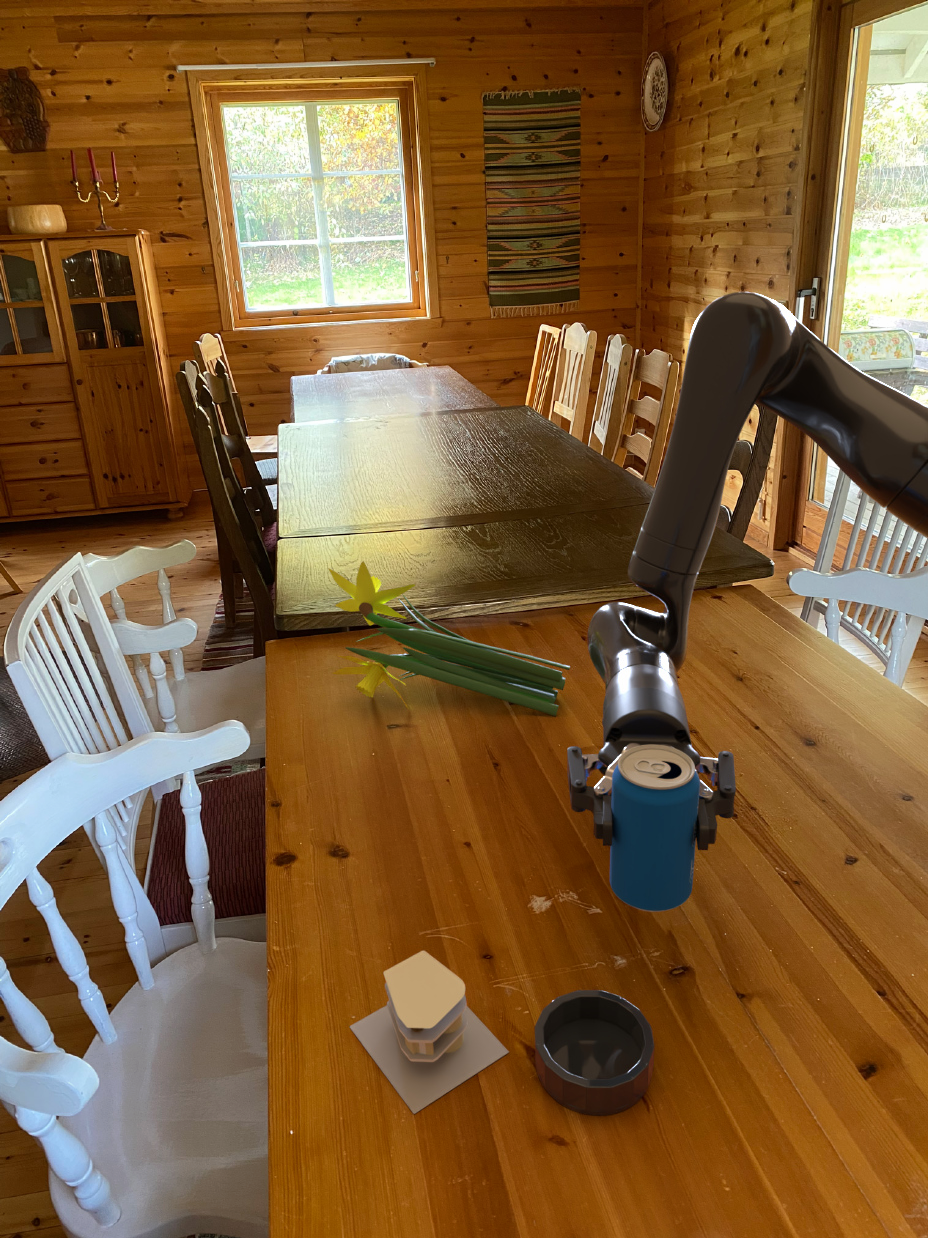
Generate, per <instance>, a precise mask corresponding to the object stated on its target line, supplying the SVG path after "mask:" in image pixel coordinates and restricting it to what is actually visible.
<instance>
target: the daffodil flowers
mask: <svg viewBox="0 0 928 1238" xmlns="http://www.w3.org/2000/svg"><path fill="white" fill-rule="evenodd" d="M327 569H328V572H329V573H330V575H331V577H332V579H333V581H334V582H335V583H336V584H337V586H338V587H339V588H340V589H342V590H343V591H344V592H346V593H347V594H348V595H349V596H350V597H351V598H348V599H345V600H342V601H339V602H337V603H336V604H334V606H335V607H337V608H338V609H341V610H342V611H345V612H352V613H353V612H360V614H361V615H362V617H363V618H364V620H365V621H366V623H367V625H368V626H372V625H374V624H375V625H378V626H379V628H376V630H377V631H378V632H376V633H373V634H370V635H367V636H366V637H363V638H360V639H358V640H355V642H361V641H364V640H367V639H370V638H373V637H374V638H375V637H377V636H381V635H385V636H387V637H388V638H391V639H393V640H394V641H396V642H398V643H400V644H402V645H404V646H403V647H402V649H403V650H404V651H405V652H406V653H401V654H400V653H399V654H391V653H390V654H389V653H388V654H387V653H383V652H379V651H374V650H370V649H365V648H358V647H349V646H345V650H348V651H349V652H351V653H353V654H356V655H359V656H361V657H364V658H366V659H369V660H371V661H366V660H364V659H361V658H359V657H356V656H352V655H337V654H336V655H335V657H339V658H341V659H343V660H347V661H350V662H353V663H355V664H358V665H360V666H345V667H340V668H339V669H337V670H335V671H333V672H332V673H331V675H343V676H344V675H345V676H346V675H347V676H348V675H365V676H364V677H363V678H362V679H361V680H360V681H359V682H358V683H357V684H356V685H355V686H354V689H356V691H358V693H361V695H365V697H366V698H367V697H368V698H369V699H370V698H371V699H373V698H374V695H375V692H376V690H377V688H378V687H379V686H380V685H382V683H383V682H384V683H385V684H386V686H388V687H389V688H390V689H391V690H392V691H393V692H394V693H395V694H396V695H397V696H398V697H399V698H400V699H401V700H402V702H403V703H404V706H405V707H406V708H407V710H410V707H409V706H408V705H407V703H406V702H405V700H404V698H403V697H402V695H401V693H400V692H399V691H398V689H397V688H396V687H395V685H394V684H393V683H392V681H391V680H390V678H392V679H393V680H395V681H397V682H400V684H402V685H404V686H405V687H407V684H406V683H405V682H404V681H403V680H405V679H409V678H412V677H416V676H421V677H422V676H423V677H424V678H427V679H431V680H435V681H439V682H442V683H445V684H448V685H452V686H454V687H458V688H462V689H464V690H469V691H472V692H475V693H478V694H481V695H485V696H487V697H488V696H489V697H491V698H494V699H498V700H500V701H501V700H502V701H504V702H508V703H511V704H514V705H517V706H520V707H523V708H524V707H525V708H528V709H531V710H534V711H538V712H540V713H544V714H548V715H550V716H554V717H556V716H557V713H558V711H559V705H557V704H555V702H556V701H557V698H558V693H559V691H558V690H560V691H564V688H565V684H566V677H563V671H561V670H557V669H554V668H550V667H547V666H544V665H540V664H537V663H534V662H538V663H541V664H545V665H548V666H552V667H556V668H559V669H564V670H566V671H570V669H571V666H570V665H566V664H562V663H559V662H555V661H551V660H548V659H543V658H540V657H537V656H533V655H529V654H525V653H522V652H516V651H513V650H508V649H505V648H500V647H497V646H490V645H488V644H484V643H479V642H475V641H472V640H471V639H467V638H465V637H463V636H461V635H459V634H457V633H455V632H452V631H450V630H449V629H447V628H445V627H443V626H441V625H439V624H437V623H435V622H434V621H431V620H430V619H428V618H427V617H425V616H424V615H423V614H422V613H421V612H420V611H418V610H417V609H416V608H415V607H414V605H412V603H411V602H410V601H409V600H408V598H407V597H406V596H405V595H404V593H406V592H408V591H409V590H411V589H412V588H414V587H415V586H416V585H417V584H416V583H410V584H407V585H405V586H400V587H399V586H398V587H392V588H388V589H383V590H380V588H381V586H382V581H381V578H378V576H375V575H372V576H371V573H370V570H369V569H368V566H367V565H366V562H365V561H361V563H360V565H359V567H358V570H357V575H356V580H355V583H356V584H354V582H352V581H350V580H349V579H347V578H346V577H344V576H342V575H341V574H340V573H338V572H336V571H335V570H333V569H331V568H330V567H328V568H327ZM400 596H402V597H403V598H404V599H405V601H406V604H408V606H409V607H410V609H411V610H412V611H413V612H414V613H413V612H412V611H411V610H410V609H409V608H408V607H407V606H406V604H405V603H404V602H403V601H402V600H401V599H400V598H398V597H400ZM396 598H398V601H399V602H400V604H401V605H402V606H403V608H404V610H405V611H406V612H407V613H408V615H409V616H410V617H411V618H412V619H413V621H415V622H416V623H417V624H418V625H419V626H421V627H422V628H419V627H415V626H412V625H408V624H405V623H402V622H399V621H395V620H392V619H389V618H385V617H383V616H380V615H378V614H381V615H384V616H387V617H388V616H389V617H393V618H399V619H403V620H407V616H405V615H402V614H400V613H399V612H398V611H396V610H395V609H393V608H391V607H390V606H389V605H387V604H386V603H388V602H390V601H392V600H394V599H396ZM416 616H417V617H416ZM420 619H421V620H420ZM428 625H429V626H431V627H429V626H428ZM433 628H434V629H433ZM435 629H437V630H438V631H440V632H442V633H440V632H438V631H436V630H435ZM405 646H406V647H405ZM521 658H522V659H521ZM524 659H525V660H524ZM526 659H527V660H530V661H527V660H526ZM373 661H374V662H373ZM531 661H534V662H531ZM389 667H391V668H396V669H398V670H403V671H406V672H405V673H403V674H400V675H398V676H397V677H395V676H394V675H393V674H391V673H390V672H389V671H388V670H387V668H389ZM403 676H404V677H403ZM389 677H390V678H389ZM399 677H402V678H400V679H399Z"/></svg>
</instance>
